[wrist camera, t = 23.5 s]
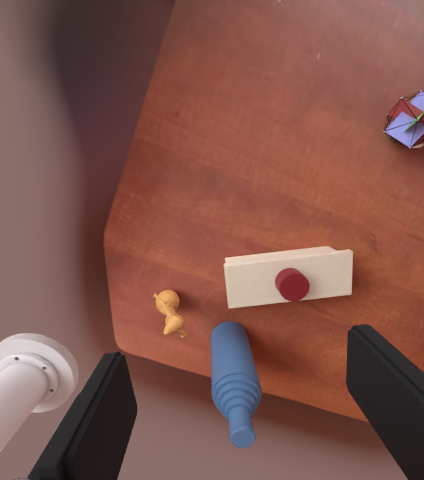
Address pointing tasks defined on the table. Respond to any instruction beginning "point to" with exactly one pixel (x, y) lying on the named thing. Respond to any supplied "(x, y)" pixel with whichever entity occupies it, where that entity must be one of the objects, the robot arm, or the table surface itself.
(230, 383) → the bottle
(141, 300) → the table surface
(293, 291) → the cap
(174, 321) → the figurine
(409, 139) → the geometric puzzle
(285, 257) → the cream lidded box
